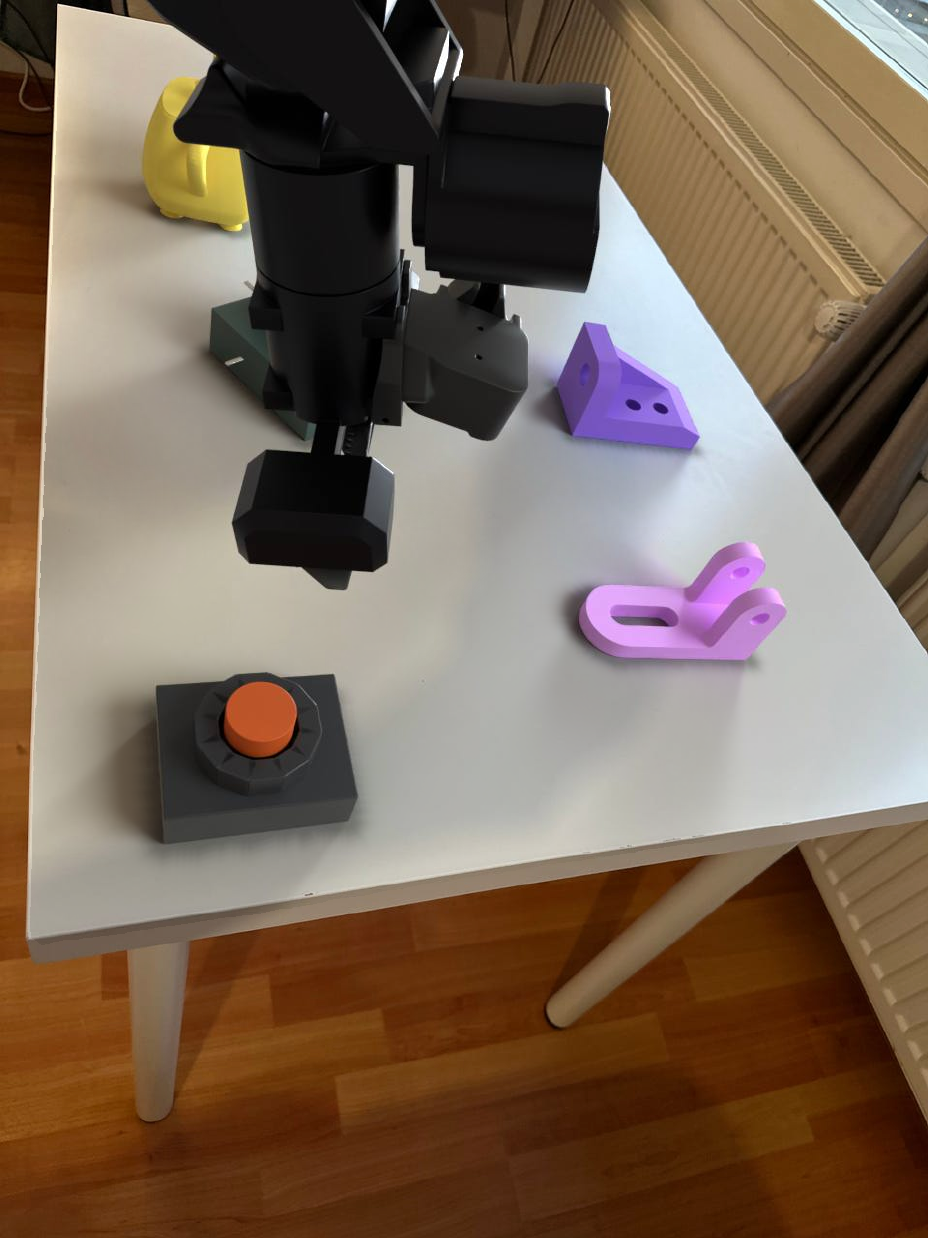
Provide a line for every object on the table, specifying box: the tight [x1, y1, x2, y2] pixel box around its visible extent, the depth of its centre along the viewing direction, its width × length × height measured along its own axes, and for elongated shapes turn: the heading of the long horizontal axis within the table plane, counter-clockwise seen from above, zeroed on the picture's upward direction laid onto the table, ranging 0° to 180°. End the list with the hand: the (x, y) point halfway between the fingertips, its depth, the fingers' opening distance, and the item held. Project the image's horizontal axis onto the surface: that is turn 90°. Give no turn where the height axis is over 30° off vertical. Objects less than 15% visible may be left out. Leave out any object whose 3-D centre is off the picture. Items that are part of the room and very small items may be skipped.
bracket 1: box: [556, 321, 701, 450], centre depth 78 cm, size 12×7×7 cm, turn 98°
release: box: [155, 671, 359, 845], centre depth 48 cm, size 10×8×5 cm
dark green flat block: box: [208, 280, 316, 442], centre depth 70 cm, size 15×15×4 cm
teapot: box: [141, 54, 249, 232], centre depth 79 cm, size 18×11×11 cm, turn 2°
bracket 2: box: [578, 541, 787, 661], centre depth 63 cm, size 13×6×7 cm, turn 99°
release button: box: [224, 682, 297, 757], centre depth 46 cm, size 4×4×2 cm
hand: (347, 520), depth 47 cm, fingers open, 9 cm apart
